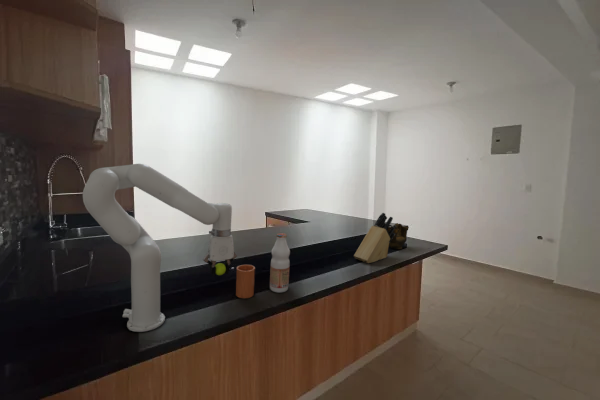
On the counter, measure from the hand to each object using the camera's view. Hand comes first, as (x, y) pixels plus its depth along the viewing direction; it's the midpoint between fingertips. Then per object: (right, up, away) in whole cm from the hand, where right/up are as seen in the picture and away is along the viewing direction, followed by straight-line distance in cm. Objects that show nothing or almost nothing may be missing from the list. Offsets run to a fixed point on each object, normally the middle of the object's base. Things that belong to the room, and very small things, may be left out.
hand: (219, 273), depth 125 cm
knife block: (+87, -9, +79) cm, 118 cm away
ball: (0, +2, 0) cm, 2 cm away
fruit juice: (+24, -13, +21) cm, 35 cm away
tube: (+8, -13, +13) cm, 20 cm away
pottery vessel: (+111, -7, +108) cm, 155 cm away
